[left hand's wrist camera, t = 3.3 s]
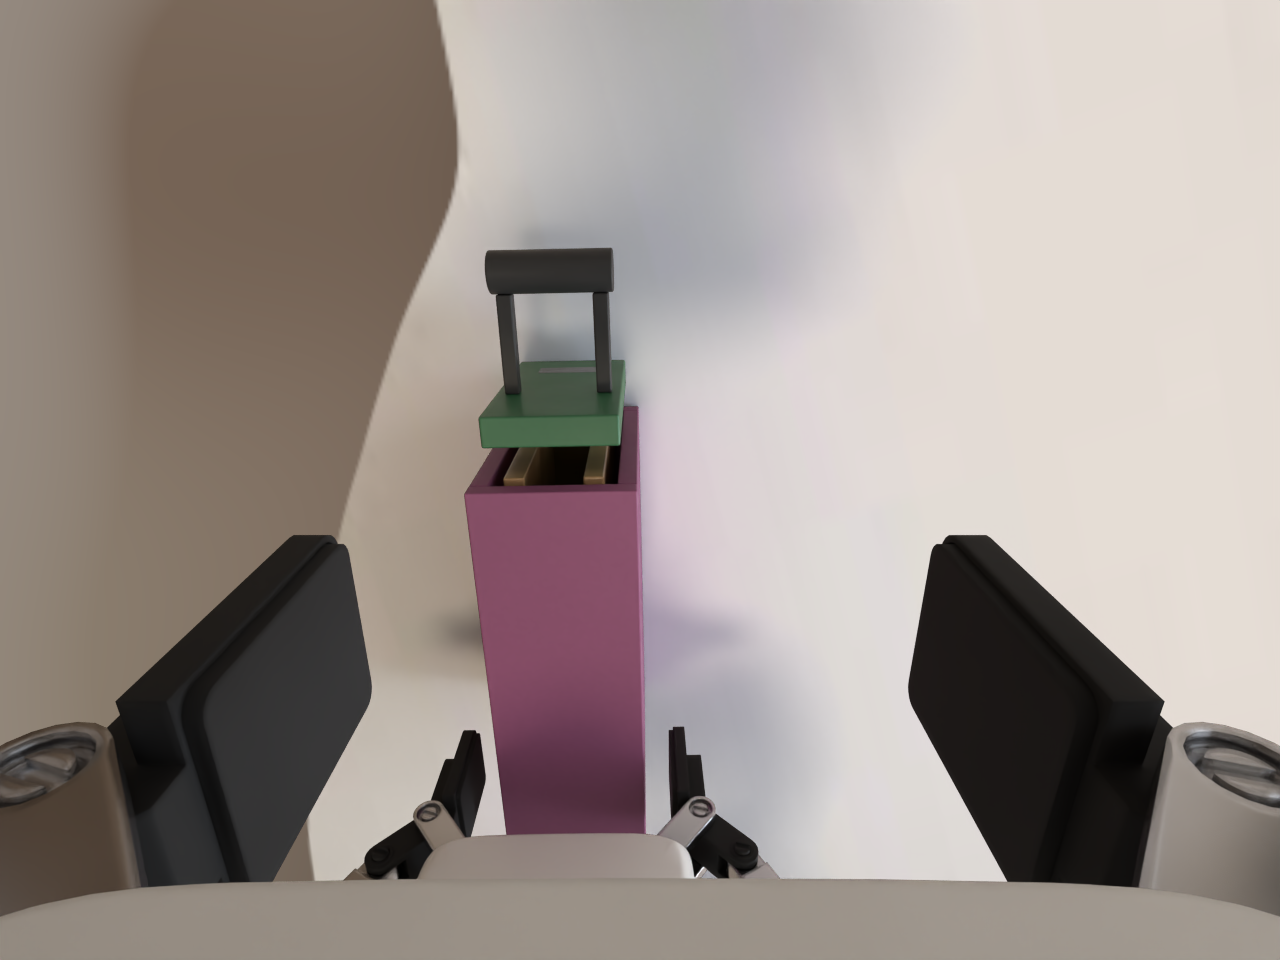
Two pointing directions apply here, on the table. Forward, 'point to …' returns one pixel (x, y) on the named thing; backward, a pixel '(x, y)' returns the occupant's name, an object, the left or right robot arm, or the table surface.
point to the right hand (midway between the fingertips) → (575, 752)
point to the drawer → (555, 376)
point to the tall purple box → (564, 643)
